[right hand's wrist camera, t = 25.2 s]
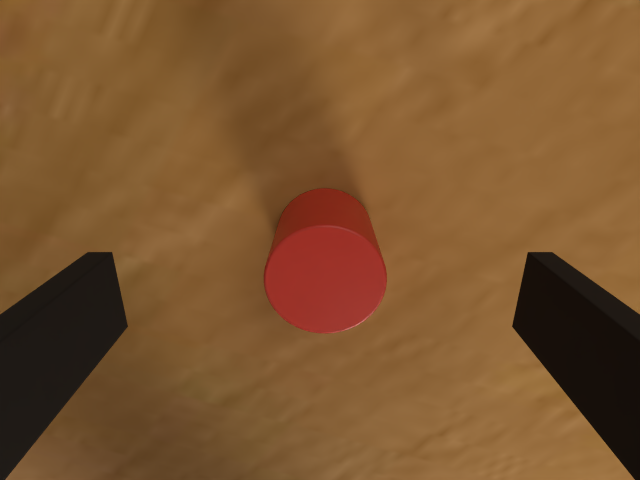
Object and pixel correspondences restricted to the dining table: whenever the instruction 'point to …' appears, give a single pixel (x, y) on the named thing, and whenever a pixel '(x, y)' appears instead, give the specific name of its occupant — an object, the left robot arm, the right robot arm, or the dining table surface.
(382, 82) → the dining table surface
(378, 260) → the canister
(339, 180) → the dining table surface
